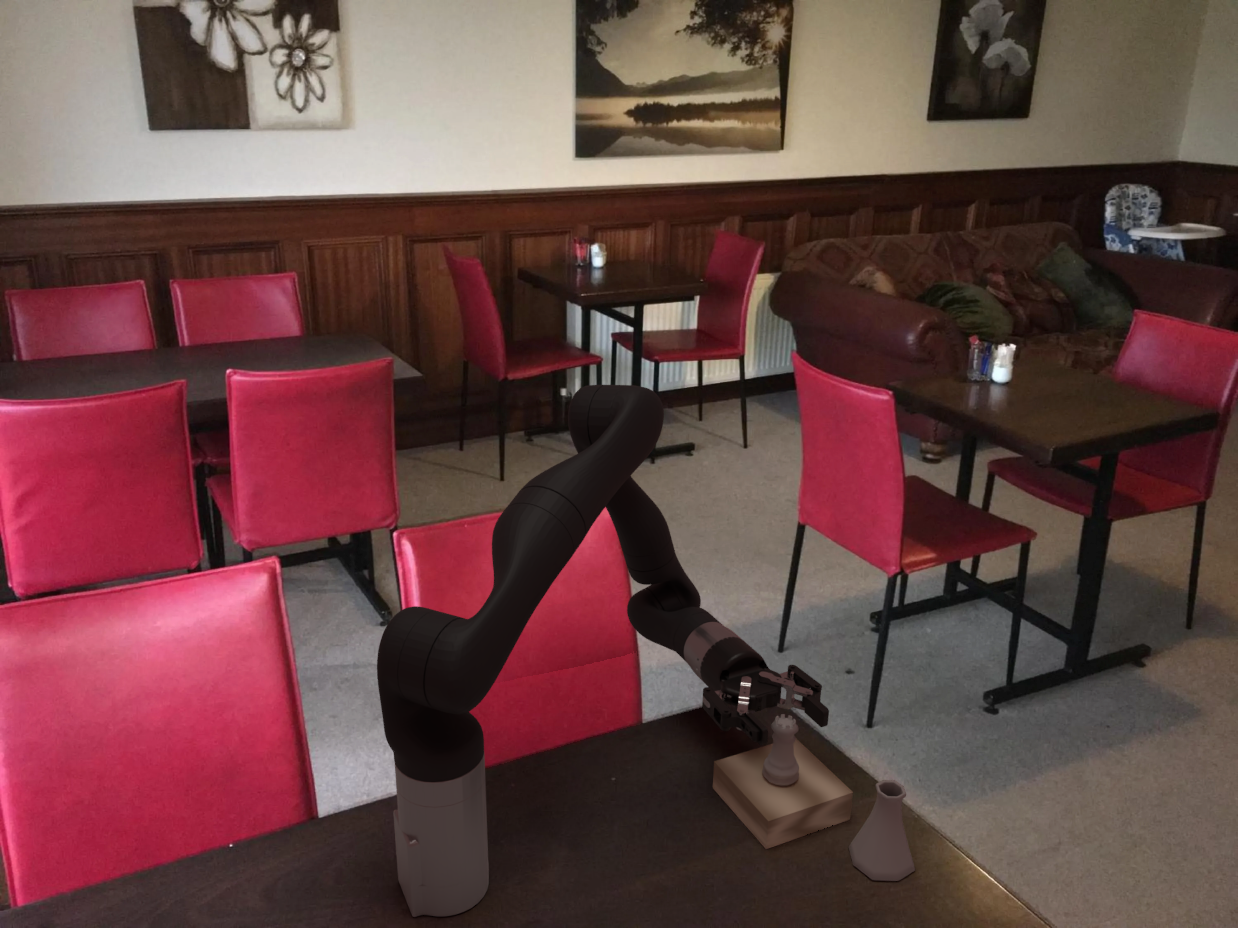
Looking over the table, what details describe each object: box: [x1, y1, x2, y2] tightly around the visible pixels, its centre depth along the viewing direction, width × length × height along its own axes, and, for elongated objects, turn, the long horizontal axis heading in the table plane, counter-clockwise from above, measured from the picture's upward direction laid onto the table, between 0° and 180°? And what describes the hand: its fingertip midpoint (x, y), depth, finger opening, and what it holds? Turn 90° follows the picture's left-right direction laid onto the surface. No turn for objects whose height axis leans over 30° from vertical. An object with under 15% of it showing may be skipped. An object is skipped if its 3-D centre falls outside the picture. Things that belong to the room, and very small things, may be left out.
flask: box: [848, 779, 916, 882], centre depth 116 cm, size 7×7×10 cm
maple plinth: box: [712, 738, 854, 850], centre depth 126 cm, size 12×12×4 cm
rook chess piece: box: [762, 713, 799, 786], centre depth 124 cm, size 4×4×8 cm
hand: (796, 728), depth 121 cm, fingers open, 8 cm apart
